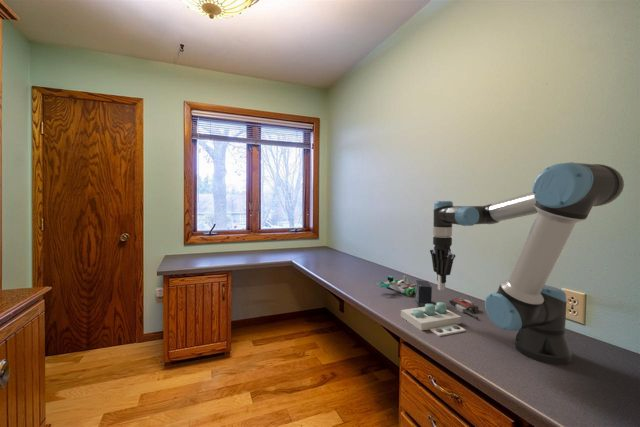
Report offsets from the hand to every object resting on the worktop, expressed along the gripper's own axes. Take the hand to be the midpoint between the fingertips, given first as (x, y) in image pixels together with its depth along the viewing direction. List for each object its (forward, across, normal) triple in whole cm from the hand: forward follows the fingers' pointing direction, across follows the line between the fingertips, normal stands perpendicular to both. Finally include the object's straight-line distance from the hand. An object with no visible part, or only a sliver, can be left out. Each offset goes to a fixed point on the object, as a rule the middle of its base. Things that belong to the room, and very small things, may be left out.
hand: (441, 289), depth 122 cm
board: (+13, 0, +6) cm, 14 cm away
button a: (+10, 0, 0) cm, 10 cm away
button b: (+10, 0, +6) cm, 12 cm away
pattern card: (+13, -11, +6) cm, 18 cm away
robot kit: (+14, +37, -2) cm, 39 cm away
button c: (+12, 0, +12) cm, 17 cm away
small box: (+13, +17, -4) cm, 22 cm away
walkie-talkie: (+14, +3, -18) cm, 23 cm away
